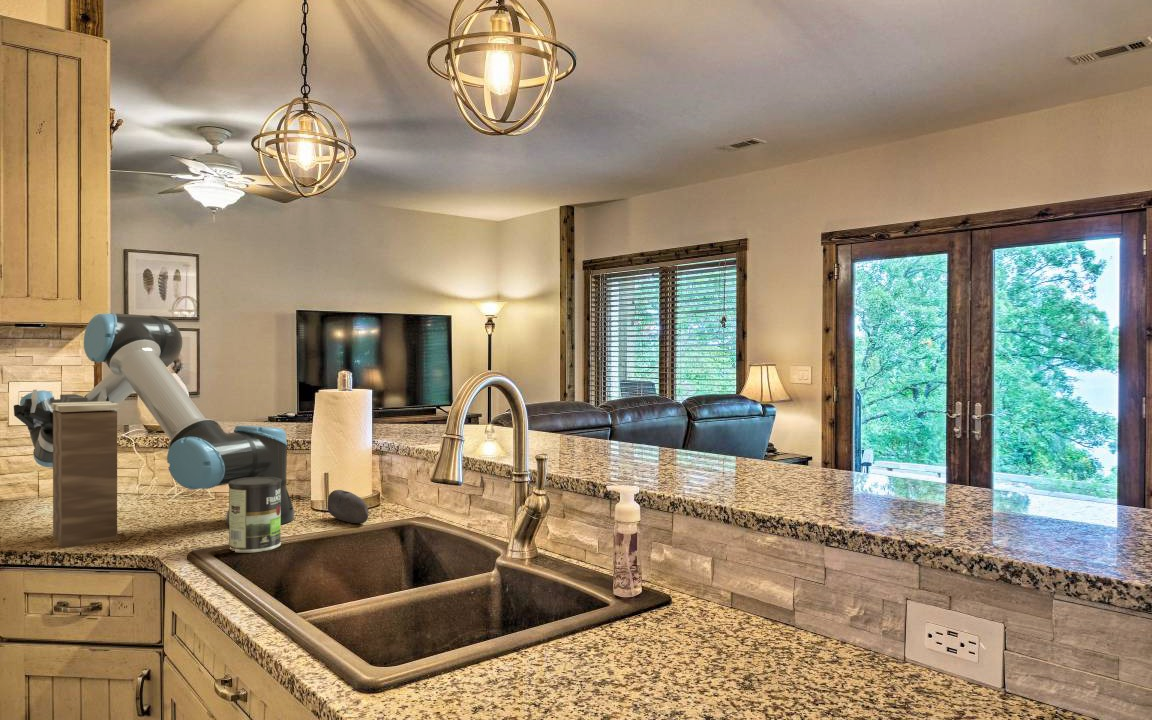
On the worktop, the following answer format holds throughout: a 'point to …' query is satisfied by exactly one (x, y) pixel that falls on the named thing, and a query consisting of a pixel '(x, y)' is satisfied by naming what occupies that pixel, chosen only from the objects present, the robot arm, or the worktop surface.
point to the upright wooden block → (84, 477)
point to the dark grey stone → (347, 507)
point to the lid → (81, 404)
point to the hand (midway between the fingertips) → (70, 393)
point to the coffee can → (254, 514)
